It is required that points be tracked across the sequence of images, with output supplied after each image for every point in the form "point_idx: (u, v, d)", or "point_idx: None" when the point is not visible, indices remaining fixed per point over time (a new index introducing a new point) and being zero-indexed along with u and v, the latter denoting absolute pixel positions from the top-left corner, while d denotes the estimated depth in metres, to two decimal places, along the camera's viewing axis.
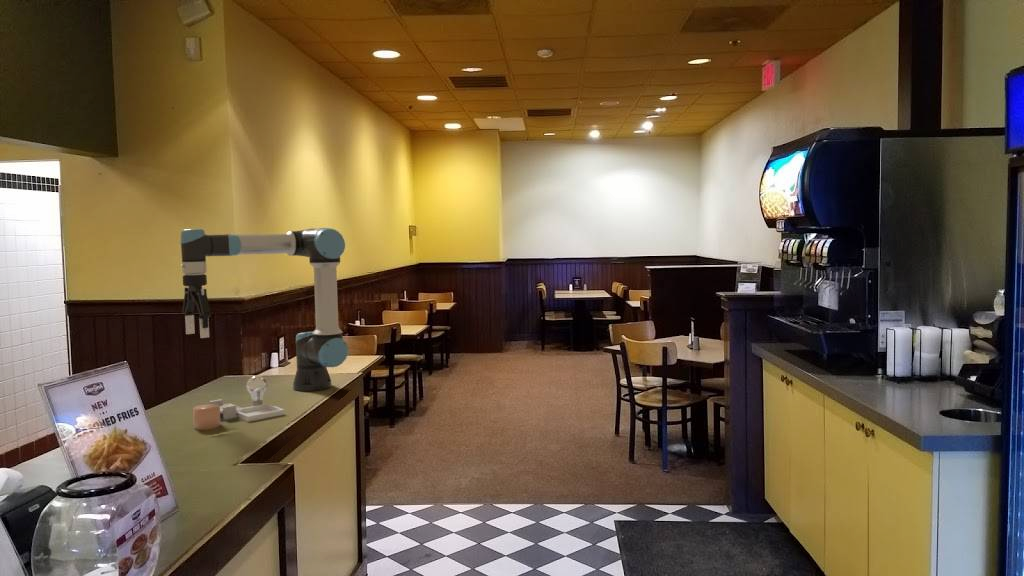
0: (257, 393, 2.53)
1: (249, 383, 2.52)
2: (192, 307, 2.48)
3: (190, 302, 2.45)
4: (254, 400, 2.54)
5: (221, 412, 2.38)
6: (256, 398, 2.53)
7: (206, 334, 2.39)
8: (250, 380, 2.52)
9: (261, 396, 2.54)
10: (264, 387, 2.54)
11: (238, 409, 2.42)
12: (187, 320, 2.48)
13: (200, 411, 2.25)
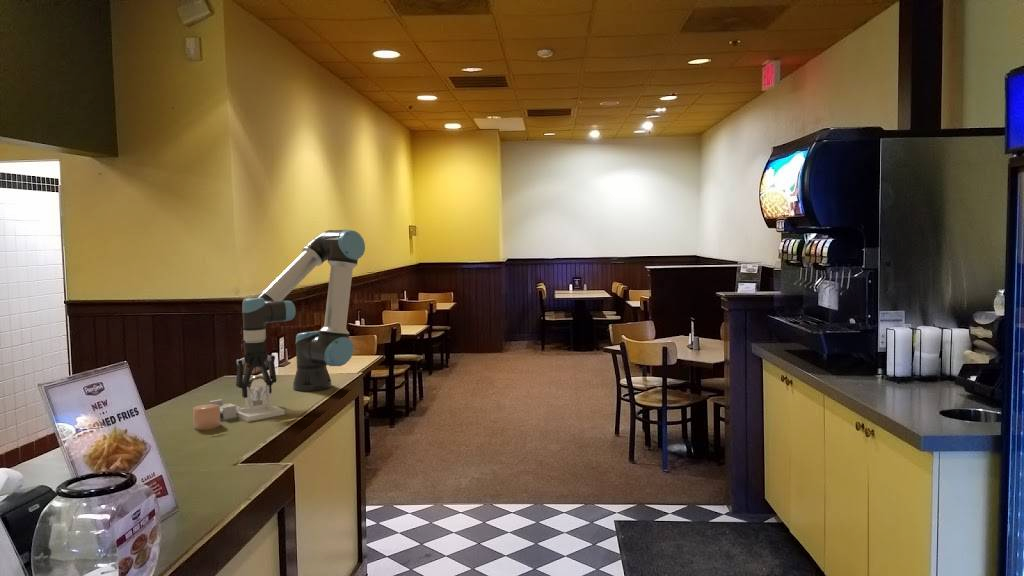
0: (257, 393, 2.53)
1: (249, 383, 2.52)
2: (264, 375, 2.56)
3: (260, 368, 2.56)
4: (254, 400, 2.54)
5: (221, 412, 2.38)
6: (256, 398, 2.53)
7: (247, 403, 2.52)
8: (250, 380, 2.53)
9: (261, 396, 2.54)
10: (264, 387, 2.54)
11: (238, 409, 2.42)
12: None
13: (200, 411, 2.25)
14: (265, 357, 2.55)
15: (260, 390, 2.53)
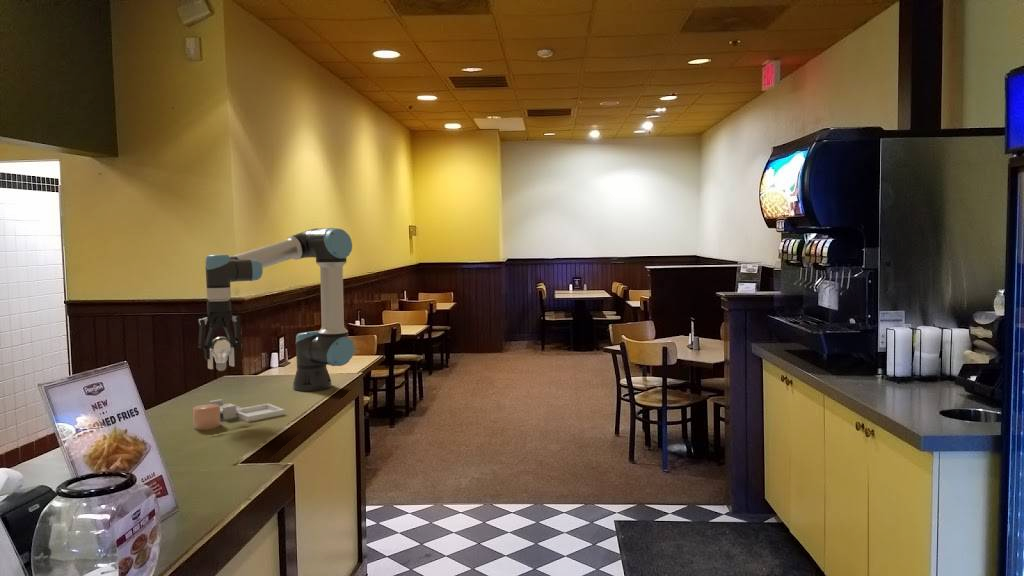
0: (221, 355, 2.39)
1: (212, 344, 2.39)
2: (229, 337, 2.43)
3: (225, 329, 2.43)
4: (217, 362, 2.40)
5: (221, 412, 2.38)
6: (220, 360, 2.40)
7: (209, 366, 2.39)
8: (213, 341, 2.39)
9: (225, 358, 2.41)
10: (228, 349, 2.40)
11: (238, 409, 2.42)
12: None
13: (200, 411, 2.25)
14: (230, 317, 2.42)
15: (224, 351, 2.39)
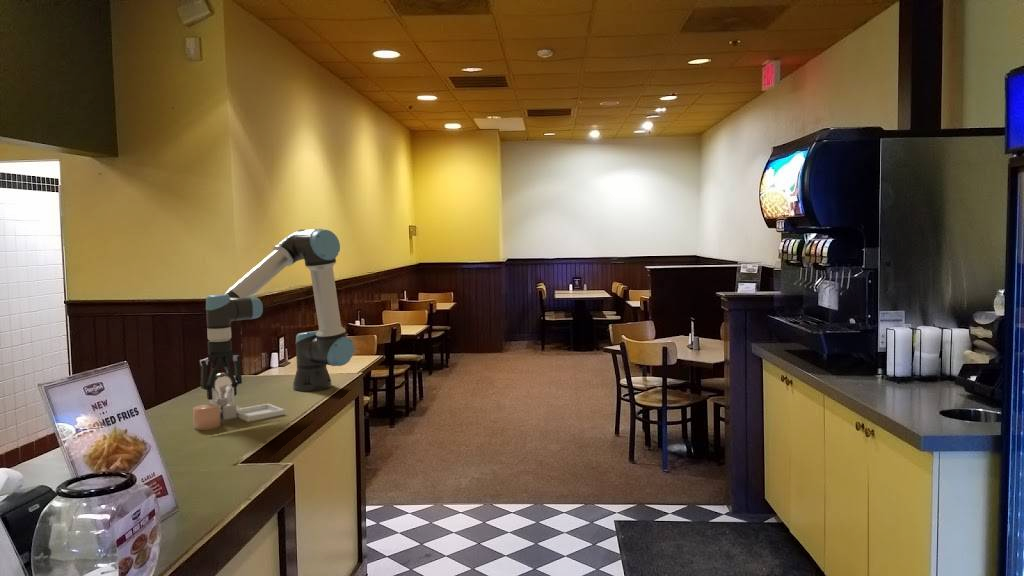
0: (222, 391, 2.40)
1: None
2: None
3: (225, 369, 2.43)
4: (218, 399, 2.41)
5: (221, 412, 2.38)
6: (221, 397, 2.40)
7: None
8: None
9: (226, 394, 2.42)
10: (229, 385, 2.41)
11: (238, 409, 2.42)
12: (229, 391, 2.45)
13: (200, 411, 2.25)
14: (230, 357, 2.43)
15: (225, 388, 2.40)
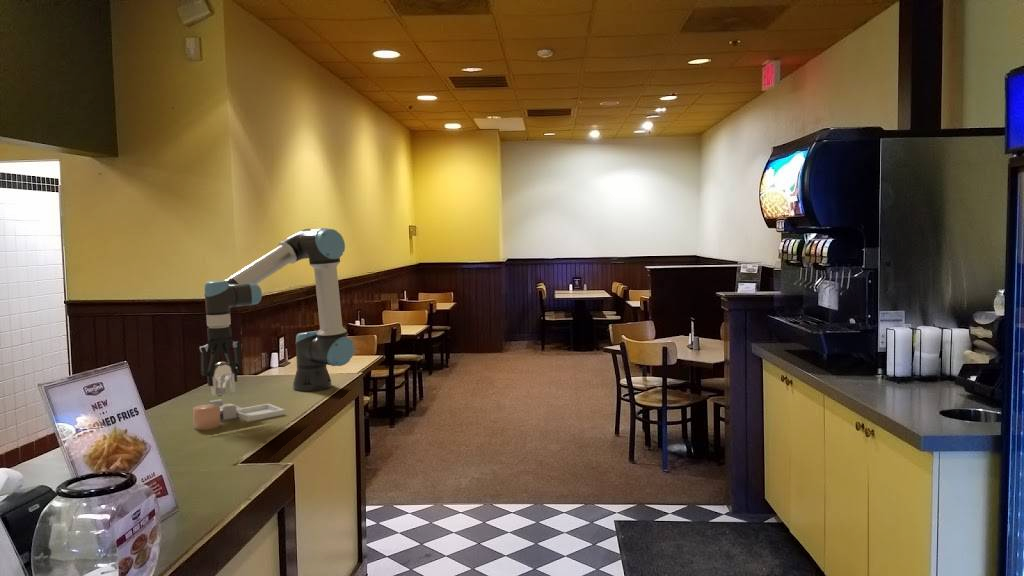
0: (221, 380, 2.40)
1: (214, 369, 2.39)
2: (229, 362, 2.43)
3: (225, 355, 2.43)
4: (217, 387, 2.41)
5: (221, 412, 2.38)
6: (219, 385, 2.40)
7: (213, 392, 2.40)
8: (215, 366, 2.39)
9: (225, 384, 2.41)
10: (229, 375, 2.41)
11: (238, 409, 2.42)
12: None
13: (200, 411, 2.25)
14: (230, 343, 2.42)
15: (224, 378, 2.40)
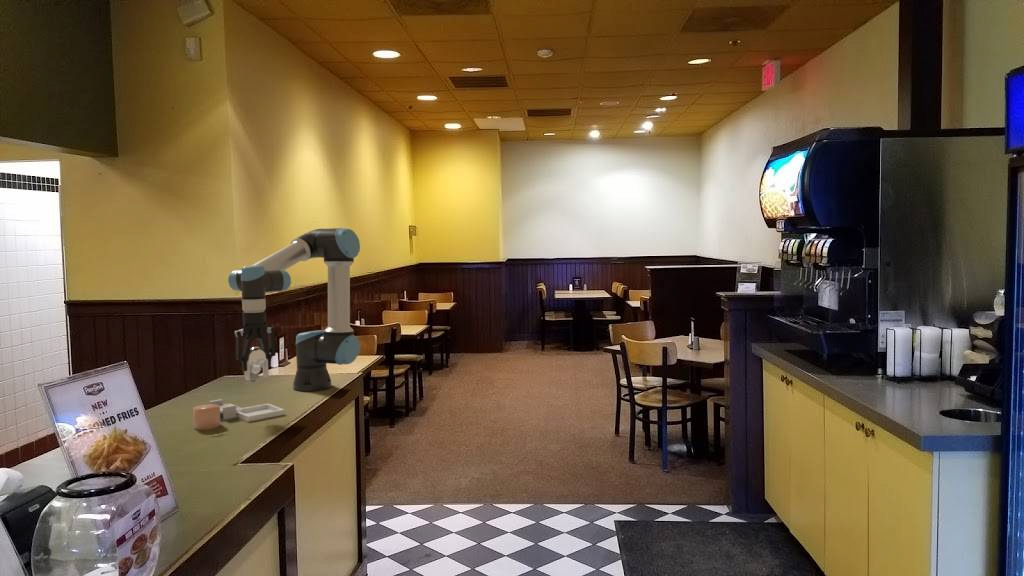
0: (255, 365, 2.39)
1: None
2: (263, 348, 2.43)
3: (259, 341, 2.43)
4: (251, 372, 2.40)
5: (221, 412, 2.38)
6: (253, 370, 2.40)
7: (247, 377, 2.39)
8: (250, 351, 2.39)
9: (259, 369, 2.41)
10: (263, 360, 2.40)
11: (238, 409, 2.42)
12: None
13: (200, 411, 2.25)
14: (265, 328, 2.42)
15: (258, 363, 2.39)
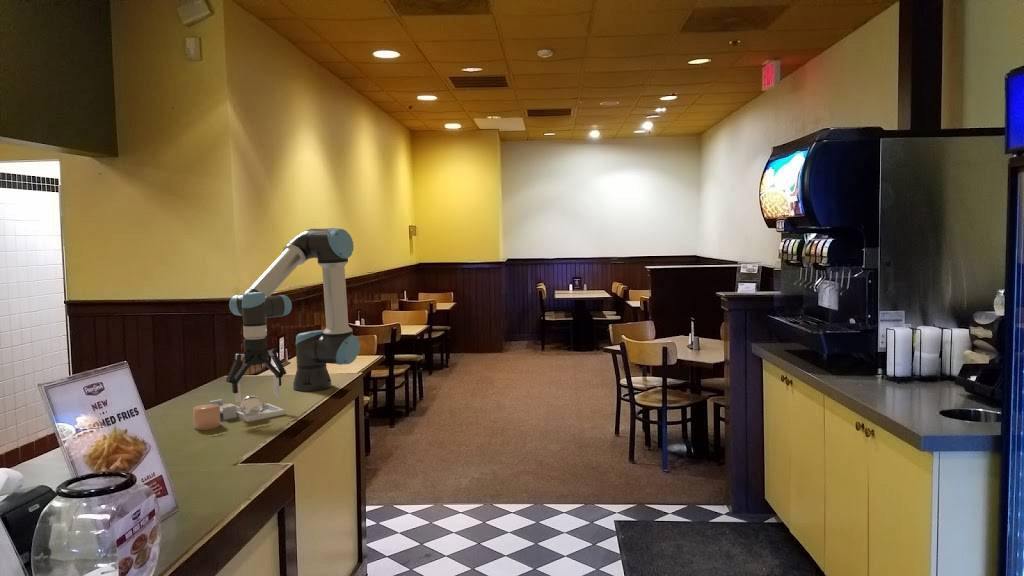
0: None
1: (247, 414, 2.36)
2: (271, 370, 2.45)
3: (265, 364, 2.45)
4: None
5: (221, 412, 2.38)
6: None
7: (237, 399, 2.38)
8: (246, 412, 2.35)
9: (262, 406, 2.41)
10: (261, 405, 2.38)
11: (238, 409, 2.42)
12: (274, 381, 2.48)
13: (200, 411, 2.25)
14: (266, 354, 2.43)
15: (260, 410, 2.38)
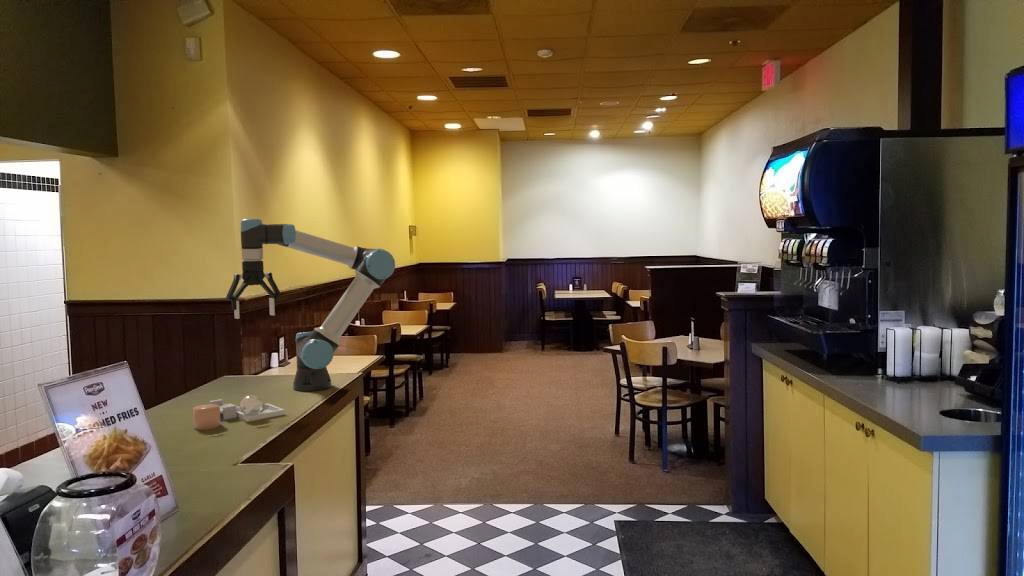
0: None
1: (247, 414, 2.36)
2: (267, 291, 2.69)
3: None
4: None
5: (221, 412, 2.38)
6: None
7: (236, 315, 2.61)
8: (246, 412, 2.35)
9: (262, 406, 2.41)
10: (261, 405, 2.38)
11: (238, 409, 2.42)
12: (269, 302, 2.71)
13: (200, 411, 2.25)
14: (263, 276, 2.67)
15: (260, 410, 2.38)
